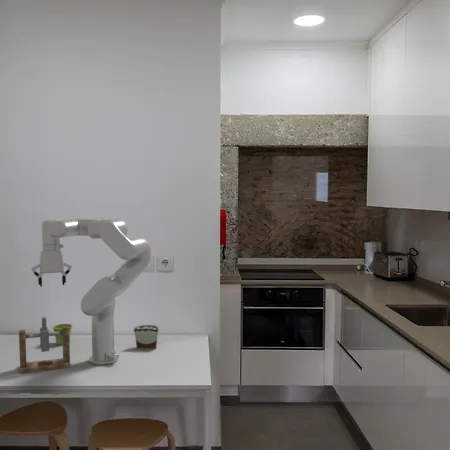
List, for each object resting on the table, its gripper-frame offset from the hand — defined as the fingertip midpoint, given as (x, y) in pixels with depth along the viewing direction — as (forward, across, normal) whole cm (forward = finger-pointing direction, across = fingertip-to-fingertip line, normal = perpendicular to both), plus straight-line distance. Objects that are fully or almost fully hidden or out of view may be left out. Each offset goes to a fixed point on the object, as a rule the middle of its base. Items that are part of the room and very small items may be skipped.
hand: (52, 285), depth 240 cm
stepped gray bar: (+24, +5, +15) cm, 29 cm away
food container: (+32, -43, +3) cm, 54 cm away
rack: (+32, +5, +15) cm, 36 cm away
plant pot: (+33, -5, -18) cm, 37 cm away
